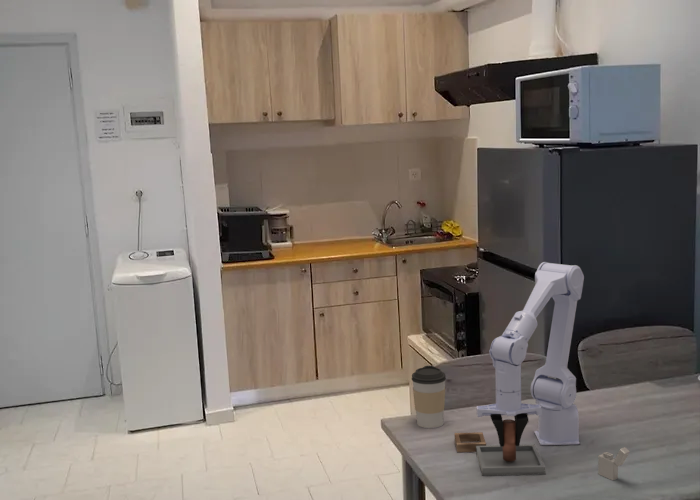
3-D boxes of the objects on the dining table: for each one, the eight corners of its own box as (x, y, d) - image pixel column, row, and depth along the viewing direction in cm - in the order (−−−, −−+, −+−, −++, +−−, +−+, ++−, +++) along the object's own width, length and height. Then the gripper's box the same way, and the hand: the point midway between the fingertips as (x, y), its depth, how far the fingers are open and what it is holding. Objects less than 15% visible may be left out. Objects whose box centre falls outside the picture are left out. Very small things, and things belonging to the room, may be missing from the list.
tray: (534, 451, 176) (534, 444, 176) (545, 474, 164) (545, 466, 164) (476, 452, 177) (476, 445, 176) (482, 475, 165) (482, 468, 165)
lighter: (597, 473, 163) (597, 439, 162) (602, 471, 164) (603, 437, 163) (624, 485, 157) (624, 450, 156) (629, 483, 158) (630, 448, 157)
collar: (482, 439, 184) (482, 432, 184) (486, 451, 177) (486, 443, 177) (454, 440, 184) (454, 432, 184) (457, 452, 178) (457, 444, 177)
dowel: (514, 455, 172) (514, 419, 170) (517, 461, 169) (516, 424, 167) (501, 455, 172) (501, 419, 170) (503, 461, 169) (503, 424, 167)
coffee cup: (445, 430, 191) (444, 375, 188) (411, 429, 193) (409, 374, 190) (448, 417, 200) (446, 364, 197) (415, 416, 201) (413, 363, 199)
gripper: (478, 395, 164) (479, 452, 166) (544, 393, 163) (544, 451, 165) (474, 384, 171) (476, 439, 173) (537, 383, 170) (538, 438, 172)
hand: (509, 444), depth 170 cm, fingers closed on dowel, 3 cm apart
